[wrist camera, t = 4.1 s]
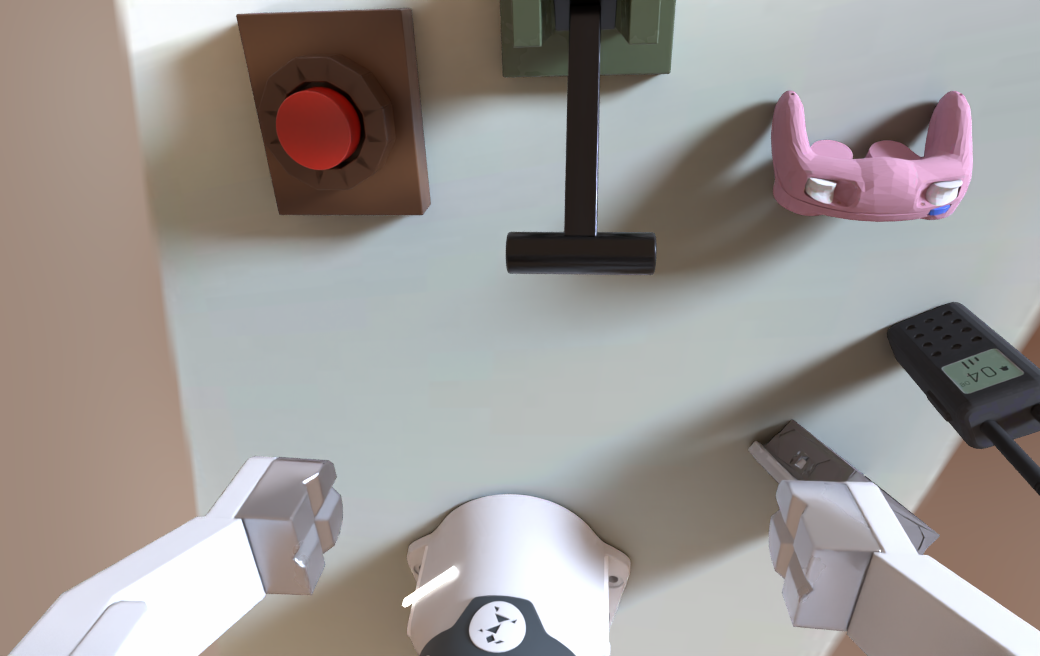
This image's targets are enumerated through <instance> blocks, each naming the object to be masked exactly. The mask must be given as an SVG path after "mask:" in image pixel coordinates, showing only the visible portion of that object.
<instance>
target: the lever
mask: <svg viewBox="0 0 1040 656" xmlns="http://www.w3.org/2000/svg"><path fill="white" fill-rule="evenodd" d="M617 2H618V0H553V4H554V17H555V29H556V31H569V44H568V90H567V135H566V180H565V226H564V232H509V233H508V235H507V240H506V267H507V271H508V273H510V274H594V275H653V274H654V271H655V266H656V249H657V247H656V236H655V233H653V232H597V210H598V155H599V101H600V47H601V30H607V29H615V23H616V12H617Z"/></svg>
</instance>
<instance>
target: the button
mask: <svg viewBox="0 0 1040 656" xmlns="http://www.w3.org/2000/svg"><path fill="white" fill-rule="evenodd" d="M276 131H277V135H278V138H279V141H280V143H281V145H282V147H283V148H284V150H285V151H286V153H287V154H288V155H289V156H290V157H291V158H292V159H293V160H295V161H296V162H297V163H299V164H300V165H302V166H305V167H307V168H310V169H315V170H326V169H330V168H333V167H335V166H337V165H338V164H340V163H341V162H343V161H344V160H346V159H347V158H348V157H350V156H351V155H352V154H353V153H354V152H355V150H356V149H357V147H358V145H359V141H360V137H361V125H360V120H359V117H358V115H357V112H356V110H355V109H354V107H353V105H352V104H351V103H350V102H349V101H348V100H347V99H346V98H345V97H344V96H343V95H342V94H340V93H339V92H337V91H335V90H333V89H330V88H326V87H312V88H308V89H305V90H302V91H299V92H296V93H294V94H292V95H290V96H289V97H287V98H286V99H285V100H284V101H283V103H282V104H281V106H280V107H279V110H278V113H277V117H276Z"/></svg>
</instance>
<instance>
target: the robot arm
mask: <svg viewBox="0 0 1040 656" xmlns="http://www.w3.org/2000/svg"><path fill="white" fill-rule="evenodd" d="M336 478H337V476H336V472H335V468H334V464H333V463H332V462H330V461H329V460H316V459H301V458H286V457H279V458H277V457H264V456H253V457H251V458H249V459H247V460H246V462H245V463H244V464H243V466H242V467H241V468H240V470H239V471H238V472H237V474H236V475H235V477H234V478H233V479H232V481H231V482H230V483H229V485H228V486H227V487H226V489H225V490H224V491H223V493H222V494H221V496H220V497H219V498H218V500H217V501H216V502H215V504H214V505H213V506H212V508H211V509H210V510H209V512H208V513H207V514H206V516H205V517H195V518H193V519H192V520H190V521H188V522H186V523H185V524H183V525H181V526H179V527H178V528H176V529H174V530H172V531H171V532H169V533H167V534H166V535H164V536H162V537H160V538H159V539H157V540H155V541H153V542H152V543H150V544H148V545H146V546H145V547H143V548H141V549H139V550H138V551H136V552H134V553H132V554H131V555H129V556H127V557H126V558H124V559H122V560H120V561H118V562H117V563H115V564H113V565H111V566H110V567H108V568H106V569H104V570H103V571H101V572H99V573H97V574H96V575H94V576H92V577H91V578H89V579H87V580H85V581H83V582H82V583H80V584H78V585H76V586H75V587H73V588H71V589H69V590H68V591H66V592H64V593H62V594H61V595H60V597H59V598H58V599H57V600H56V601H55V602H54V603H53V605H52V606H51V607H50V608H49V609H48V610H47V611H46V612H45V614H44V615H43V616H42V617H41V618H40V619H39V620H38V622H37V623H36V624H35V625H34V626H33V627H32V628H31V629H30V631H29V632H28V633H27V634H26V635H25V636H24V637H23V639H22V640H21V641H20V642H19V643H18V644H17V646H16V647H15V648H14V649H13V650H12V651H11V652H10V653H9V655H8V656H198V655H199V654H200V653H201V652H203V651H204V650H205V649H206V648H207V647H208V646H209V645H210V644H212V643H213V642H214V641H215V640H216V639H217V638H219V637H220V636H221V635H222V634H223V633H224V632H225V631H227V630H228V629H229V628H230V627H231V626H232V625H233V624H235V623H236V622H237V621H238V620H239V619H240V618H241V617H243V616H244V615H245V614H246V613H247V612H248V611H249V610H251V609H252V608H253V607H254V606H255V605H256V604H257V603H259V602H260V601H261V600H262V599H263V598H264V597H265V596H266V595H265V594H292V595H312V593H313V591H314V589H315V586H316V584H317V582H318V580H319V578H320V576H321V574H322V571H323V569H324V567H325V561H324V557H323V554H324V553H325V552H326V551H328V550H329V549H330V548H332V547H333V546H334V545H335V543H336V541H337V538H338V536H339V534H340V530H341V525H342V520H343V504H342V499H341V495H340V494H339V493H338V492H337V491H336V490H335V489H334V488H333V487H332V486H333V484H334V482H335V480H336ZM776 500H777V503H778V505H779V508H780V509H779V510H778V511H777V512H776V513H775V514H773V515H772V516H771V521H770V527H769V549H770V555H771V560H772V563H773V566H774V569H775V571H776V572H777V573H778V574H779V575H780V576H782V577H783V578H784V579H785V581H784V586H783V590H782V594H783V597H784V600H785V603H786V606H787V609H788V612H789V615H790V618H791V621H792V624H793V627H804V628H815V629H826V630H837V631H847V635H848V636H849V637H850V638H851V639H852V640H853V641H854V642H855V643H856V644H857V645H858V646H859V647H860V649H861V650H862V651H863V652H864V653H865V654H866V655H867V656H1040V631H1038V630H1037V629H1035V628H1034V627H1032V626H1031V625H1029V624H1028V623H1026V622H1025V621H1024V620H1022V619H1021V618H1019V617H1018V616H1016V615H1015V614H1013V613H1012V612H1010V611H1009V610H1007V609H1006V608H1004V607H1003V606H1002V605H1000V604H998V603H997V602H996V601H994V600H993V599H991V598H990V597H988V596H987V595H985V594H984V593H983V592H981V591H980V590H978V589H977V588H975V587H974V586H972V585H971V584H969V583H968V582H966V581H965V580H963V579H962V578H960V577H959V576H957V575H956V574H955V573H953V572H952V571H950V570H949V569H947V568H946V567H944V566H943V565H942V564H940V563H938V562H937V561H936V560H934V559H933V558H931V557H930V556H928V555H919V554H918V553H917V551H916V549H915V548H914V546H913V544H912V543H911V541H910V539H909V538H908V536H907V534H906V533H905V531H904V529H903V528H902V526H901V524H900V523H899V521H898V519H897V518H896V516H895V514H894V513H893V511H892V509H891V508H890V506H889V504H888V503H887V501H886V499H885V498H884V496H883V494H882V493H881V491H880V489H879V488H878V486H877V485H875V484H874V483H872V482H827V481H799V480H781V482H780V484H779V485H778V488H777V493H776ZM407 562H408V564H409V567H410V569H411V571H412V574H413V576H414V578H415V581H416V583H417V585H416V590H415V592H414V593H412V594H411V595H409V596H408V597H406V598H404V601H403V604H402V606H403V607H407V606H408V605H410V604H412V607H411V612H410V616H409V621H408V626H407V635H408V636H409V637H410V638H411V640H412V644H413V647H414V648H415V650H416V652H417V653H418V654H419V656H610V643H609V642H608V633H609V630H610V627H611V624H612V622H613V619H614V616H615V613H616V611H617V608H618V605H619V603H620V600H621V597H622V594H623V592H624V589H625V586H626V584H627V581H628V578H629V575H630V568H631V561H630V559H629V558H628V556H626V555H625V554H624V553H622V552H621V551H619V550H617V549H615V548H614V547H612V546H610V545H608V544H606V543H604V542H603V541H602V540H601V539H600V538H599V537H598V536H597V535H596V534H595V533H594V532H593V530H592V529H591V528H590V527H589V526H588V525H587V524H586V523H585V522H584V521H583V520H582V519H581V518H579V517H578V516H577V515H576V514H574V513H573V512H571V511H569V510H568V509H566V508H564V507H562V506H560V505H558V504H556V503H553V502H551V501H548V500H545V499H541V498H537V497H533V496H527V495H518V494H500V495H491V496H486V497H482V498H478V499H475V500H472V501H470V502H467V503H465V504H463V505H461V506H459V507H458V508H456V509H455V510H454V511H452V512H451V513H450V514H449V515H448V516H447V517H446V518H445V519H444V520H443V521H442V523H441V524H440V525H439V526H438V528H437V529H436V530H435V531H434V532H432V533H431V534H429V535H426V536H424V537H422V538H420V539H418V540H416V541H414V542H413V543H412V544H410V546H409V547H408V553H407Z"/></svg>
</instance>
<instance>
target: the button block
mask: <svg viewBox="0 0 1040 656" xmlns="http://www.w3.org/2000/svg"><path fill="white" fill-rule="evenodd" d="M236 17H237V21H238V26H239V31H240V35H241V40H242V45H243V49H244V54H245V58H246V63H247V68H248V72H249V77H250V82H251V86H252V91H253V95H254V100H255V105H256V109H257V114H258V119H259V123H260V128H261V132H262V137H263V142H264V146H265V151H266V156H267V160H268V165H269V169H270V174H271V179H272V183H273V188H274V193H275V197H276V202H277V206H278V211H279V214H280V215H423V214H424V212H425V211H426V210H427V209H428V207H429V206H430V204H431V202H430V192H429V182H428V172H427V162H426V152H425V141H424V131H423V121H422V111H421V101H420V91H419V81H418V71H417V60H416V50H415V40H414V30H413V20H412V10H411V9H410V8H400V9H369V10H338V11H307V12H276V13H250V14H237V15H236ZM312 87H326V88H330V89H333V90H335V91H337V92H339V93H340V94H342V95H343V96H344V97H345V98H346V99H347V100H348V101H349V102H350V103H351V104H352V105H353V107H354V109H355V110H356V112H357V115H358V117H359V120H360V125H361V137H360V141H359V145H358V147H357V149H356V150H355V152H354V153H353V154H352V155H351V156H350V157H348V158H347V159H346V160H344V161H343V162H341V163H340V164H338V165H337V166H335V167H333V168H330V169H326V170H315V169H310V168H307V167H305V166H302V165H300V164H299V163H297V162H296V161H295V160H293V159H292V158H291V157H290V156H289V155H288V154H287V153H286V151H285V150H284V148H283V147H282V145H281V143H280V141H279V138H278V135H277V131H276V117H277V113H278V110H279V107H280V106H281V104H282V103H283V101H284V100H285V99H286V98H287V97H289V96H290V95H292V94H294V93H296V92H299V91H302V90H305V89H308V88H312Z"/></svg>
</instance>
